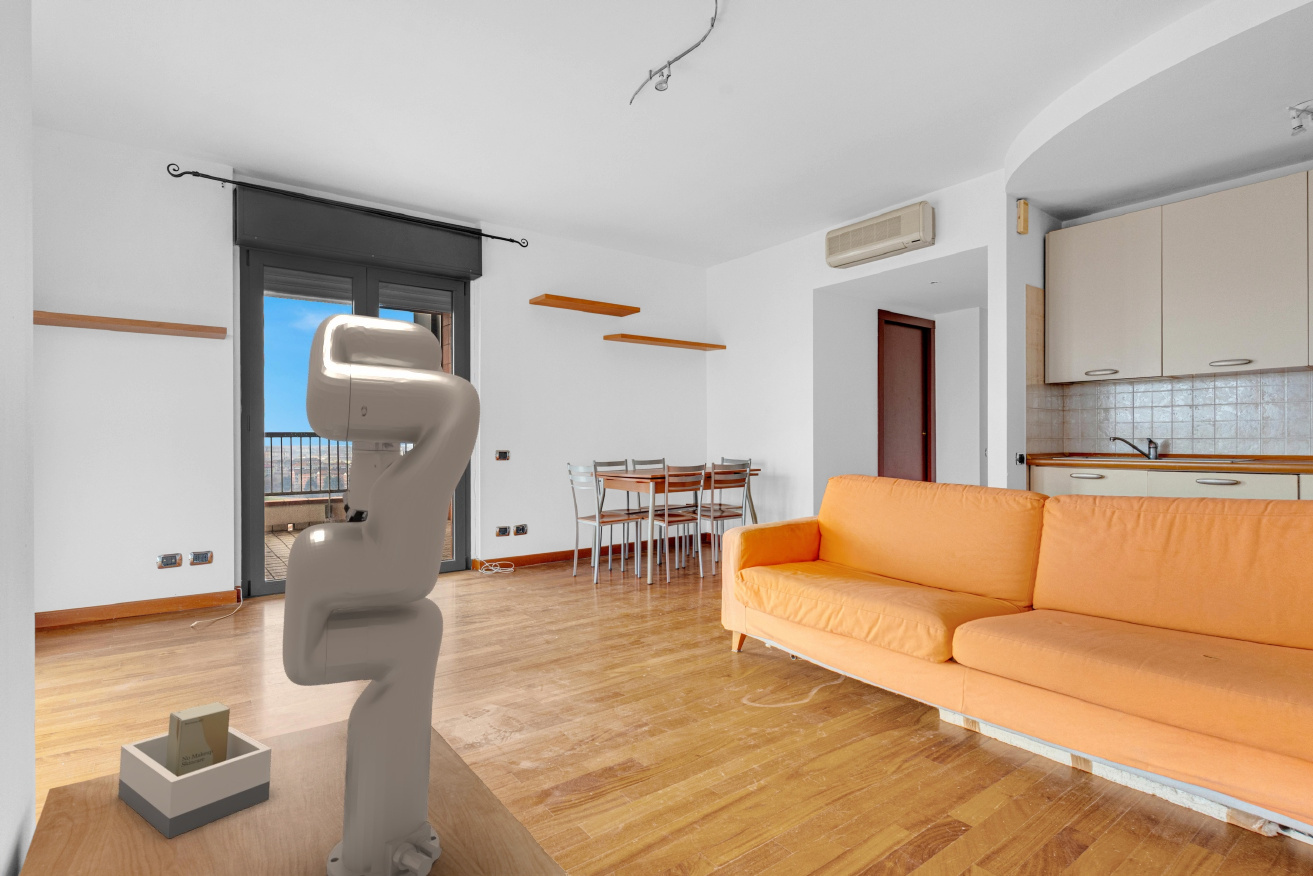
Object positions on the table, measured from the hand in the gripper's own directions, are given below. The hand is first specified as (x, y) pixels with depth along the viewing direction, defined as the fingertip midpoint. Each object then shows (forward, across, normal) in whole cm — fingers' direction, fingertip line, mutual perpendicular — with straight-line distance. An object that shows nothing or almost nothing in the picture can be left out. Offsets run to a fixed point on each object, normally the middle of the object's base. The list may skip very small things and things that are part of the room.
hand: (372, 546), depth 110 cm
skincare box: (+34, +3, +23) cm, 41 cm away
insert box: (+33, +4, +24) cm, 41 cm away
